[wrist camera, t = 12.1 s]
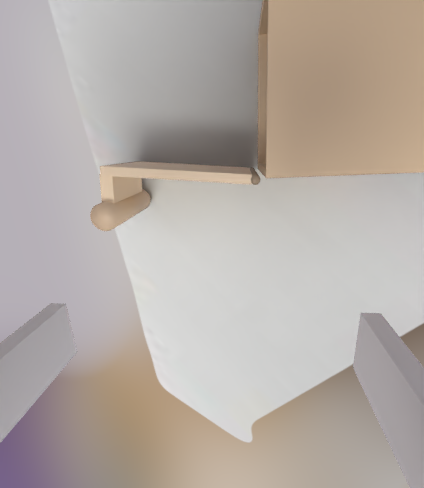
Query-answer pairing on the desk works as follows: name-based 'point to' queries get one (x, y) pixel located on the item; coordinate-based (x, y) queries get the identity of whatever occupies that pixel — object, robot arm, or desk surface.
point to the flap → (130, 178)
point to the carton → (340, 87)
